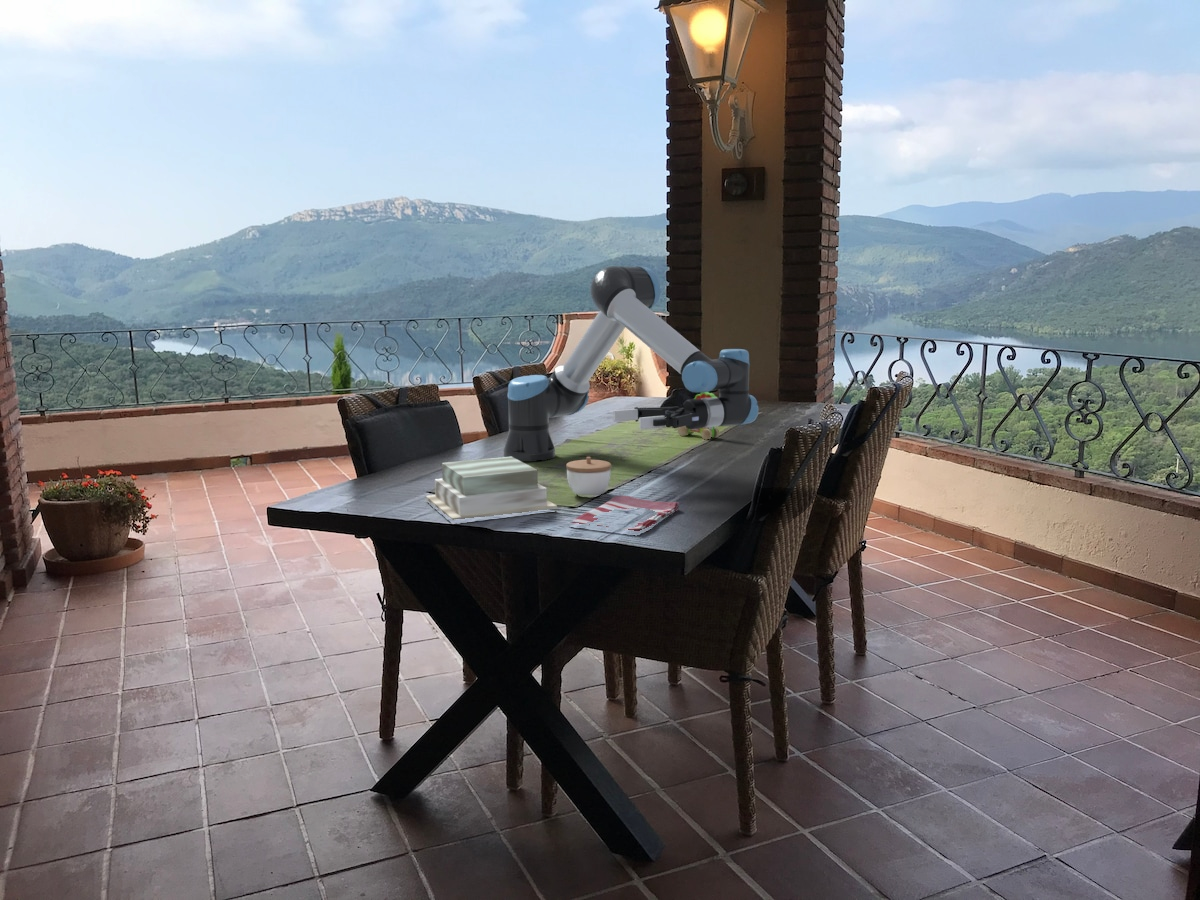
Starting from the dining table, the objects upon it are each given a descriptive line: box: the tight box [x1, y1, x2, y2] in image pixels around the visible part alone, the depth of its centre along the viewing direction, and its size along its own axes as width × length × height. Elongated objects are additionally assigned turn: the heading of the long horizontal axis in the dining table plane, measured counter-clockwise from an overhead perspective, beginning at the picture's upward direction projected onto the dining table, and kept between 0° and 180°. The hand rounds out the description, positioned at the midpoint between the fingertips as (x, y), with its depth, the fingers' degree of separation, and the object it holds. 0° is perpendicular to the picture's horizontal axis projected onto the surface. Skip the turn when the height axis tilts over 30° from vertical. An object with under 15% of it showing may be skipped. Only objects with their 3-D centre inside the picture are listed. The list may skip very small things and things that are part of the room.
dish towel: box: [570, 495, 680, 531], centre depth 192 cm, size 17×23×3 cm
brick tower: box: [425, 456, 558, 520], centre depth 201 cm, size 22×24×10 cm
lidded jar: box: [565, 456, 612, 495], centre depth 211 cm, size 11×11×9 cm
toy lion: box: [676, 391, 720, 440], centre depth 287 cm, size 16×5×15 cm, turn 47°
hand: (626, 419), depth 213 cm, fingers open, 13 cm apart
